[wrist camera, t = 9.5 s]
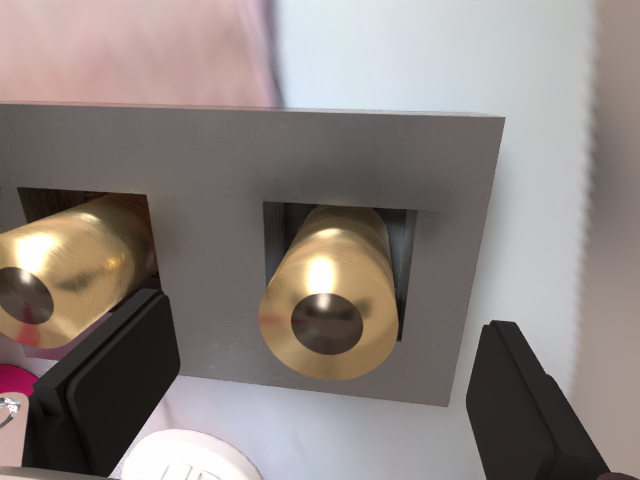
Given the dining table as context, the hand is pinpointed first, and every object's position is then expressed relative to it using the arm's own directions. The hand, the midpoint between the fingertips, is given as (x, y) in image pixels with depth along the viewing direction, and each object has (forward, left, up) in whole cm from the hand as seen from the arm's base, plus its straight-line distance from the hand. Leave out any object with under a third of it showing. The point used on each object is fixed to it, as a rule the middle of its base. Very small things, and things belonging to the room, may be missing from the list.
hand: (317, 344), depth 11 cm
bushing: (+1, 0, -10) cm, 10 cm away
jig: (+1, -6, -10) cm, 12 cm away
